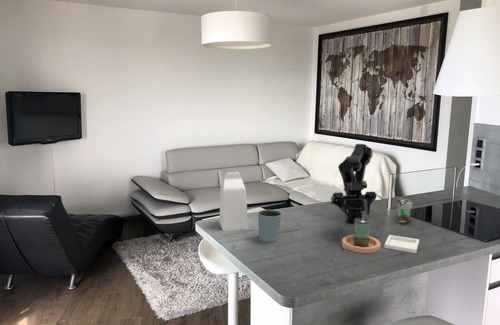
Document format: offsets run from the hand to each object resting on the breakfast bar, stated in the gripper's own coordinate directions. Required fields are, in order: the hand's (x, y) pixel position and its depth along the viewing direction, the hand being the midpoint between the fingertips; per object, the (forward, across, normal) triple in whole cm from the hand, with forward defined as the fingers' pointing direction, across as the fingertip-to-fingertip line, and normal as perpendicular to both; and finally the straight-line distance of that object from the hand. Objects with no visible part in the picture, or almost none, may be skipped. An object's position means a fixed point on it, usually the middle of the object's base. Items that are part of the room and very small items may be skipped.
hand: (357, 215), depth 168 cm
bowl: (+13, 0, +4) cm, 13 cm away
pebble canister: (+12, 0, +4) cm, 13 cm away
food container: (-9, +34, +26) cm, 44 cm away
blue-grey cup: (+4, -37, +14) cm, 39 cm away
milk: (-10, -52, +27) cm, 59 cm away
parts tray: (+14, +17, +4) cm, 22 cm away
